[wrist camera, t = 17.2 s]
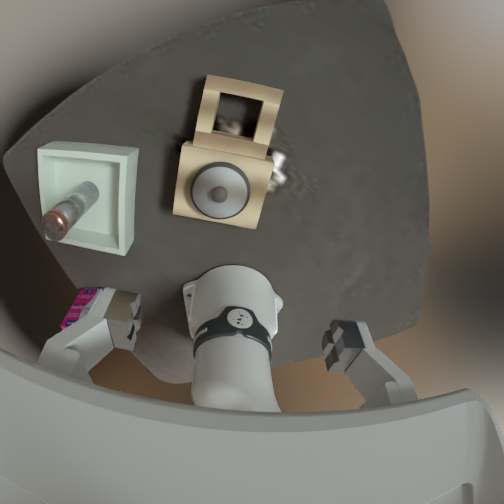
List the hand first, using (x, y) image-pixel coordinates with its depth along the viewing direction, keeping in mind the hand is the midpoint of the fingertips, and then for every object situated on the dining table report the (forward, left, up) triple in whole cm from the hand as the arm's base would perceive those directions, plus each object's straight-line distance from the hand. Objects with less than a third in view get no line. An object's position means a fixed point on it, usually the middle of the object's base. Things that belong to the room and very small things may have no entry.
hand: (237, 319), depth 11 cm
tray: (-11, +23, -31) cm, 40 cm away
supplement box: (-35, +24, -31) cm, 52 cm away
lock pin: (-11, +23, -30) cm, 39 cm away
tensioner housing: (-1, +2, -31) cm, 31 cm away
